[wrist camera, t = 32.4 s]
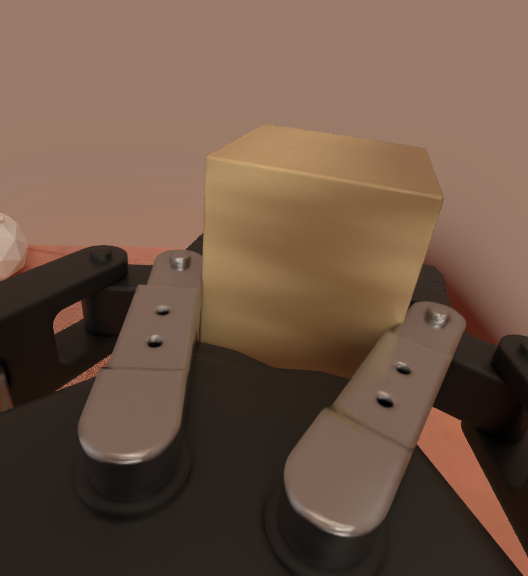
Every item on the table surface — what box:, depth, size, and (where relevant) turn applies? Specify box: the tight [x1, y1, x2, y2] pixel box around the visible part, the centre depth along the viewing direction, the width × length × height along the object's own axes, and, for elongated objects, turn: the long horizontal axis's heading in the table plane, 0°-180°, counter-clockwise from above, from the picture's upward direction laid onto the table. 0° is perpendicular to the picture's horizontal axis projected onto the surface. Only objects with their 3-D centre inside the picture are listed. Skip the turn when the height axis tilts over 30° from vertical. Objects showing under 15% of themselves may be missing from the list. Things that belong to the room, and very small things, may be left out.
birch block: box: [200, 124, 444, 379], centre depth 12 cm, size 5×5×10 cm
